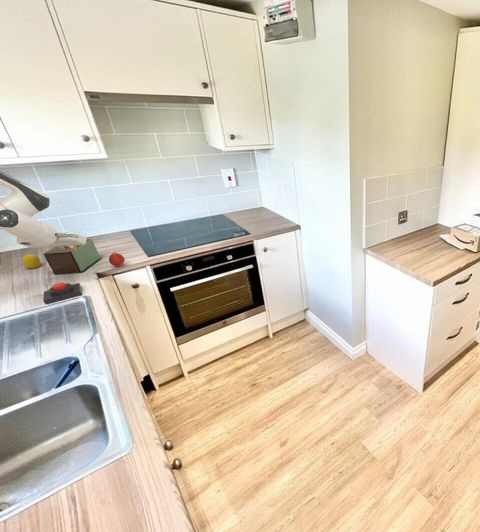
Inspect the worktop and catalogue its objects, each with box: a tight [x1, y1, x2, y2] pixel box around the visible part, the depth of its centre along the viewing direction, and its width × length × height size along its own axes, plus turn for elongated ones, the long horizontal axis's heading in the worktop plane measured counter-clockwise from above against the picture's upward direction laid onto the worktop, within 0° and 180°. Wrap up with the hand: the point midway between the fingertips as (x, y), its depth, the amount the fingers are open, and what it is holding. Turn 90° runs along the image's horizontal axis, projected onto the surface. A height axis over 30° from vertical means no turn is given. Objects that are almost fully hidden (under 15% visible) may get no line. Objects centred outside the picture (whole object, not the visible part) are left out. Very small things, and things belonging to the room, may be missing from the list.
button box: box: [42, 282, 83, 306], centre depth 134 cm, size 11×9×4 cm
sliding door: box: [70, 238, 101, 271], centre depth 155 cm, size 15×1×15 cm, turn 13°
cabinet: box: [43, 238, 103, 276], centre depth 156 cm, size 16×11×11 cm
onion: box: [108, 251, 126, 267], centre depth 157 cm, size 6×6×8 cm
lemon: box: [21, 253, 42, 269], centre depth 153 cm, size 6×6×8 cm
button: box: [51, 281, 67, 291], centre depth 133 cm, size 4×4×2 cm
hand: (69, 246), depth 146 cm, fingers closed
